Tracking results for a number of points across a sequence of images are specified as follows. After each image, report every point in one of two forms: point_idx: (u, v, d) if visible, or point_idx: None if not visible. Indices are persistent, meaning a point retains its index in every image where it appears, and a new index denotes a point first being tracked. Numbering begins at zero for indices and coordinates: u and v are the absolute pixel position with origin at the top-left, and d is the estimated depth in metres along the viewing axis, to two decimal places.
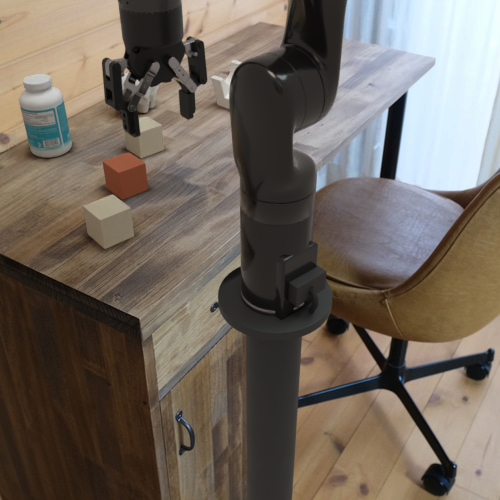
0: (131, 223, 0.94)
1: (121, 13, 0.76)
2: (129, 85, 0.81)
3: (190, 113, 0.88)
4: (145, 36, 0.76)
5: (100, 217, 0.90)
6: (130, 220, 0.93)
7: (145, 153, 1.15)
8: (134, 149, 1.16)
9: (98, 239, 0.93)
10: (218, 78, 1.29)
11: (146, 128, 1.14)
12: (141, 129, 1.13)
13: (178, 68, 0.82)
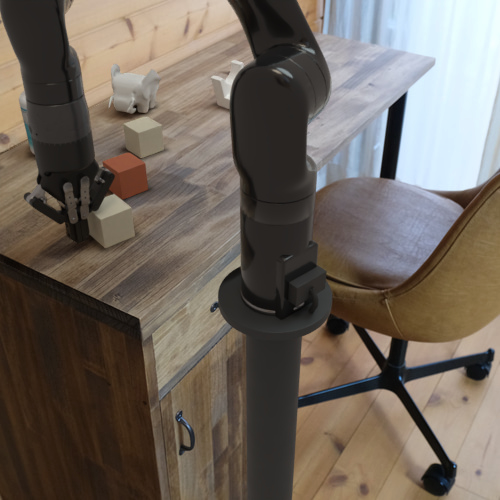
0: (132, 223, 0.94)
1: (32, 141, 0.81)
2: (60, 203, 0.88)
3: (83, 237, 0.91)
4: (55, 163, 0.81)
5: (100, 216, 0.91)
6: (131, 220, 0.94)
7: (145, 153, 1.15)
8: (134, 149, 1.16)
9: (99, 238, 0.93)
10: (218, 78, 1.29)
11: (146, 128, 1.14)
12: (141, 129, 1.13)
13: (85, 189, 0.87)
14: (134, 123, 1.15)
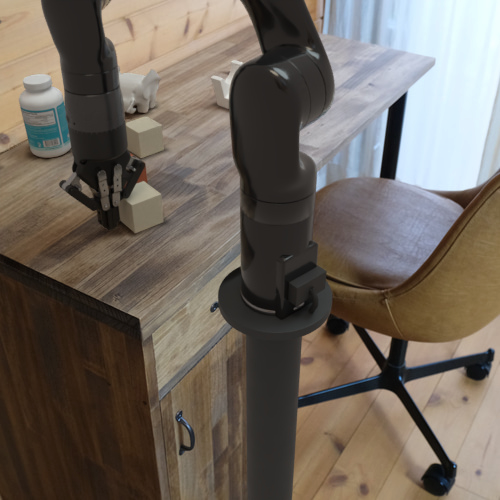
0: (161, 209, 0.97)
1: (69, 130, 0.84)
2: (93, 190, 0.91)
3: (114, 223, 0.94)
4: (91, 152, 0.84)
5: (131, 202, 0.94)
6: (160, 206, 0.97)
7: (145, 153, 1.15)
8: (134, 149, 1.16)
9: (129, 224, 0.96)
10: (218, 78, 1.29)
11: (146, 128, 1.14)
12: (141, 129, 1.13)
13: (118, 177, 0.90)
14: (134, 123, 1.15)
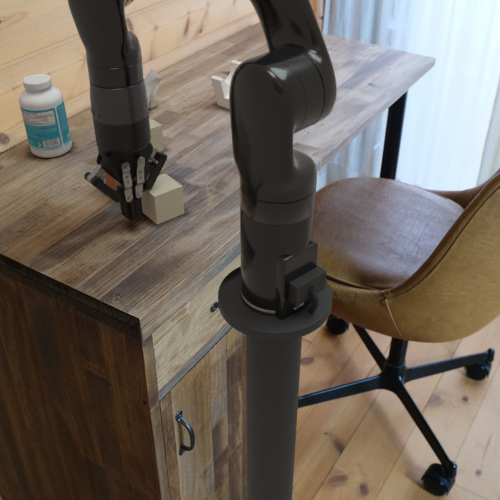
0: (182, 201, 0.99)
1: (94, 123, 0.86)
2: (117, 182, 0.93)
3: (137, 215, 0.96)
4: (115, 144, 0.86)
5: (154, 193, 0.96)
6: (181, 198, 0.99)
7: None
8: None
9: (151, 215, 0.98)
10: (218, 78, 1.29)
11: None
12: None
13: (141, 169, 0.92)
14: None
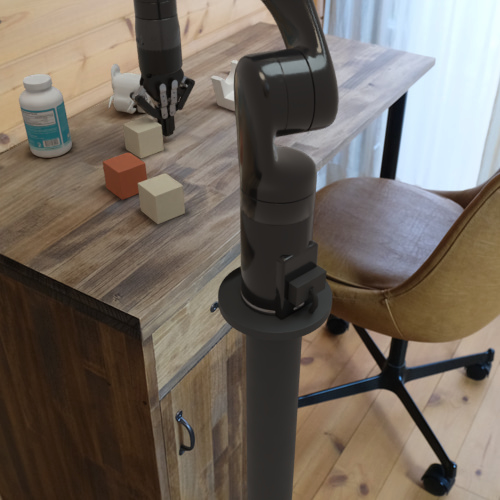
0: (182, 200, 0.99)
1: (138, 50, 1.08)
2: (155, 102, 1.15)
3: (171, 131, 1.19)
4: (155, 67, 1.08)
5: (154, 193, 0.96)
6: (182, 197, 0.99)
7: (145, 153, 1.15)
8: (134, 149, 1.16)
9: (151, 215, 0.98)
10: (218, 78, 1.29)
11: (146, 128, 1.14)
12: (141, 129, 1.13)
13: (174, 90, 1.14)
14: (133, 123, 1.15)
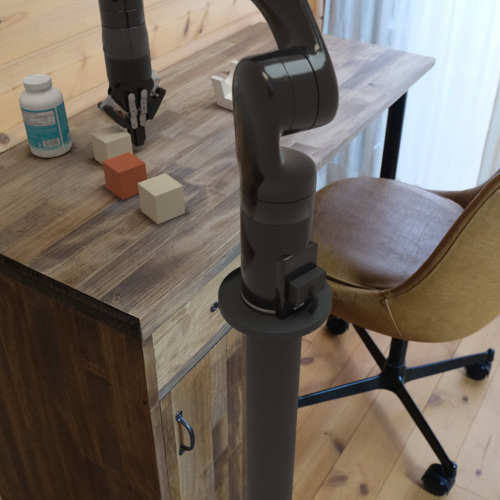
0: (182, 200, 0.99)
1: (105, 59, 1.05)
2: (124, 112, 1.12)
3: (141, 141, 1.16)
4: (123, 76, 1.05)
5: (154, 193, 0.96)
6: (182, 197, 0.99)
7: None
8: (102, 159, 1.12)
9: (151, 215, 0.98)
10: (218, 78, 1.29)
11: (114, 138, 1.10)
12: (109, 139, 1.10)
13: (144, 100, 1.11)
14: (102, 132, 1.12)
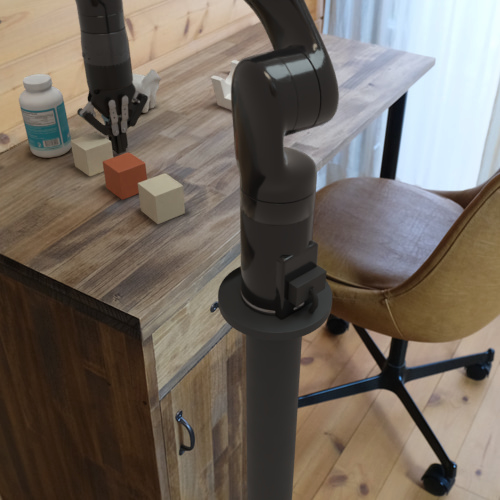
0: (182, 200, 0.99)
1: (85, 65, 1.03)
2: (105, 119, 1.10)
3: (123, 148, 1.14)
4: (102, 82, 1.03)
5: (154, 193, 0.96)
6: (182, 197, 0.99)
7: (94, 171, 1.10)
8: (82, 167, 1.10)
9: (151, 215, 0.98)
10: (218, 78, 1.29)
11: (94, 145, 1.08)
12: (89, 146, 1.08)
13: (125, 106, 1.09)
14: (82, 139, 1.10)
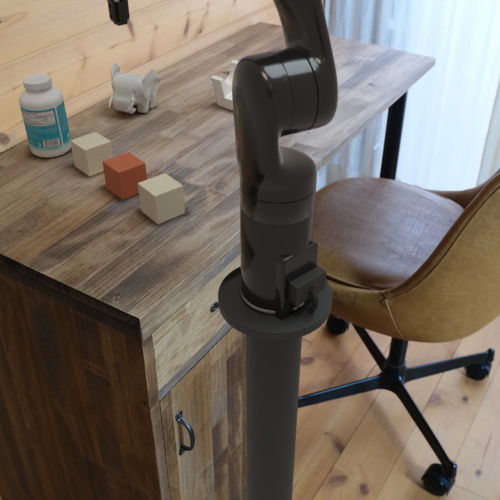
0: (182, 200, 0.99)
1: None
2: None
3: (124, 19, 1.02)
4: None
5: (154, 193, 0.96)
6: (182, 197, 0.99)
7: (94, 171, 1.10)
8: (82, 167, 1.10)
9: (151, 215, 0.98)
10: (218, 78, 1.29)
11: (94, 145, 1.08)
12: (88, 146, 1.08)
13: None
14: (81, 139, 1.10)
